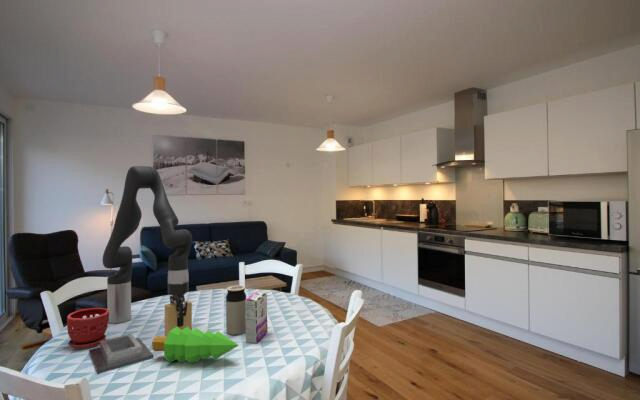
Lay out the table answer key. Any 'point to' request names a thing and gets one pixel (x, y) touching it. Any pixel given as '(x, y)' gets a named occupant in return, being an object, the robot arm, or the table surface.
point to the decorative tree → (192, 345)
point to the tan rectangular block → (172, 317)
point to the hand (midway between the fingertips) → (178, 324)
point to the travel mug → (235, 310)
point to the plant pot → (87, 327)
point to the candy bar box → (256, 317)
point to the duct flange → (119, 353)
